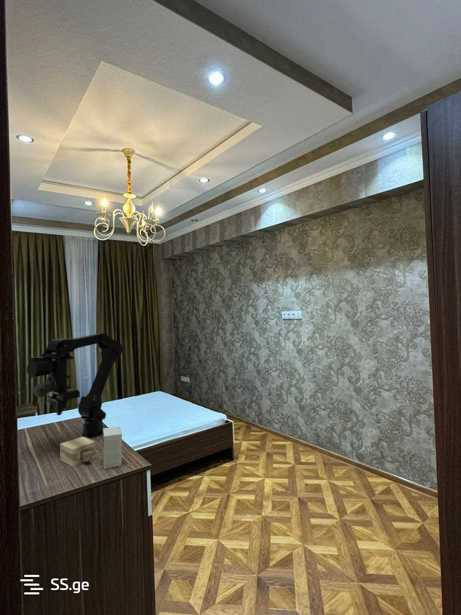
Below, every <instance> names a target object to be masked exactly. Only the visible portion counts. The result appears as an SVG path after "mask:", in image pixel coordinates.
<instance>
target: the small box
mask: <svg viewBox="0 0 461 615" xmlns="http://www.w3.org/2000/svg"><path fill="white" fill-rule="evenodd" d="M102 431H103V434H102V464H103V470H108V469H112V467H113V468H117V467H116V466H119V467H121V465H123V464H122V463H123V462H122V461H123V458H122V456H123V454H122V453H123V446H122V445H123V434H122V430H121V426H119V425H118V426H112V427H104V428H103V427H102ZM107 468H108V469H107Z"/></svg>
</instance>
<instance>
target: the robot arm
mask: <svg viewBox="0 0 461 615" xmlns="http://www.w3.org/2000/svg"><path fill="white" fill-rule="evenodd" d="M93 345H97V347H98V348H99V349H100V350H101V352H100V357H101V361H100V364H99V367H98V369H97V372H96V374H95V377H94V380H93V383H92V384H91V387H90V390H89V392H88V394H87V395H82V396H81V392H80V391H81V390H78V388H77V389H76V388H71V385H69V380H68V379H70V378H71V374H69V360H74V356H72V355H71V353H72V352H74V351H75V350H77V349H80V348H84V347H87V346H88V347H89V346H93ZM123 351H124V348H123V345H122V343H120V342H118V341H117V340H115V339H114V338H112V337H110V336H109V335H107V334H106V333H104V332H95V333H93V334H89V335H84V336H80V337H75V338H74V337H73V338H53V339H51V340H50V341H49V342H48V344H47V346H46V348H45V350H44V351H43V353H42V354H41V355H40V356H39V357H36V356H32V357H30V361H29V362H28V363H27V366H26V374H27V375H28V377H30V378H37V377H38V378H39V377H43V376H47V377H46V381H43V382H42V383H39V384H37V385H35V386H33V387H32V391H33V393H34V396H35V397H38V398H43V397H45V396H46V398H47V399H49V400H50V401H52V404H53V406H54V409H55V413H56V416H61V415H62V414H63V411H64V410H65V407H66V405H67V404H68V402H69V400H73V399H77V398H80V401H79V403H78V405H77V407H78V408H77V412H78V414H79V415H80V418H81V419H82V420H83V422H84V424H82V425H83V426H82V427H83V428H82V430H83V431H82V433H81V435H82V436H84V437H86V438H89V439H91V438H94V437H97V436H100V435H103V421H104V420H105V419H106V417H107V413H106V412H105V410H103V409H102V405H103V401H102V400H103V398H102V395H103V392H104V389H105V386H106V384H107V381H108V380H109V379H108V378H109V376H110V374H111V372H112V371H111V370H112V367H113V366H114V364H115V363H116V361H118V360H119V358H120V357H121V355H122V353H123ZM47 394H48V395H47ZM80 396H81V397H80Z"/></svg>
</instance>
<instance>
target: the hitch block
mask: <svg viewBox="0 0 461 615" xmlns="http://www.w3.org/2000/svg"><path fill="white" fill-rule="evenodd" d="M96 444H97V442H96V441H95V440H92V439H91V438H89V437H87V436H80V437H76V438H74V439H70V440H68V441H65V442H61V443H59V445H60V446H59V448H60V449H59V450H60V451H59V456H60V457H59V458H60V459H59V461H61V462H63V463H65V464H66V465H69V466H71V467H75V466H78V465H81V464H83V463H85V462H87V461H85V460H82V459H80V452H81V451H84V450H86V449H87V450H89V451H91V452H93V459H95V458H97V456H96V452H97V451H96V450H97V449H96Z"/></svg>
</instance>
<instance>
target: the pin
mask: <svg viewBox="0 0 461 615" xmlns="http://www.w3.org/2000/svg"><path fill="white" fill-rule="evenodd" d="M80 459H82V460H85V461H86V462H88V461H90V460H94V458H93V452H91V451H89V450H87V449H86V450H84V451H81V452H80Z"/></svg>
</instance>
